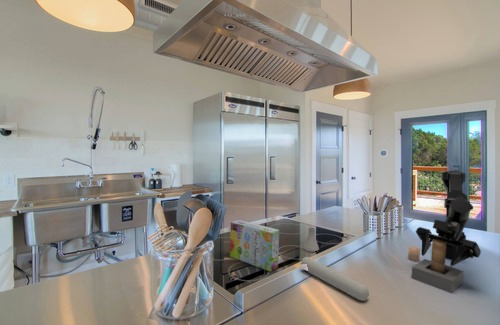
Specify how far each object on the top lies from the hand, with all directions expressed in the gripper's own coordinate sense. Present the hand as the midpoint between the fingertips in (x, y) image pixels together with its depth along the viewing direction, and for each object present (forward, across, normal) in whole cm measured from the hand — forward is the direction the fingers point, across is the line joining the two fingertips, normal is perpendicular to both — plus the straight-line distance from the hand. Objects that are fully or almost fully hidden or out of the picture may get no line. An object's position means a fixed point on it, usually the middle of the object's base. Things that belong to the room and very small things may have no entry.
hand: (436, 260), depth 91 cm
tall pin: (+4, 0, +6) cm, 8 cm away
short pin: (-3, -14, +13) cm, 19 cm away
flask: (+21, -41, -10) cm, 47 cm away
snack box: (+42, -41, -31) cm, 67 cm away
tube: (+30, -15, -19) cm, 39 cm away
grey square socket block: (+4, 0, +6) cm, 8 cm away
